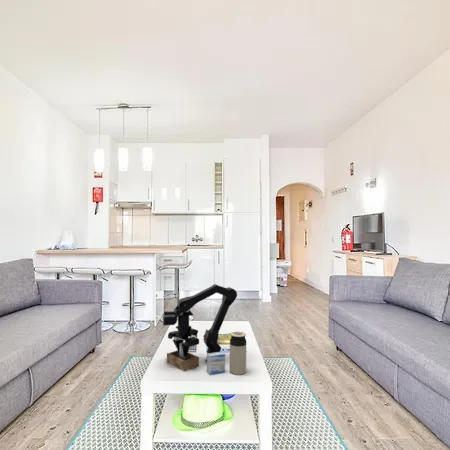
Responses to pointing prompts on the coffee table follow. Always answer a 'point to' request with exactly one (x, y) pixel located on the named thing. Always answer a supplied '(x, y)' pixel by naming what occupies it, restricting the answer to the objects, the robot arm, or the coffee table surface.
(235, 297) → the robot arm
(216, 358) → the medicine box
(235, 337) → the travel mug
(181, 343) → the peg
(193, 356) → the caddy
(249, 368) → the coffee table surface
